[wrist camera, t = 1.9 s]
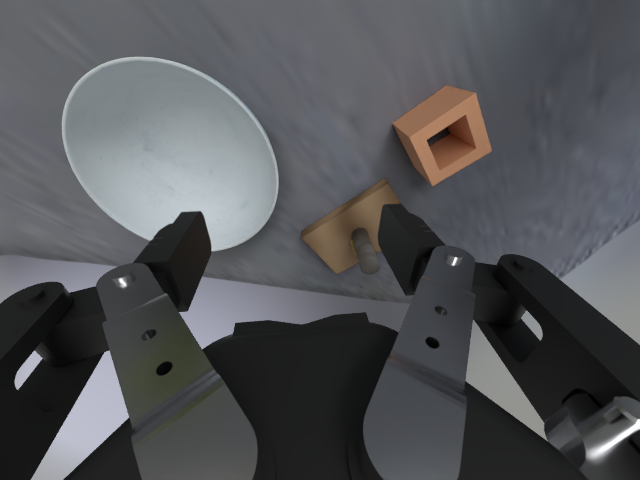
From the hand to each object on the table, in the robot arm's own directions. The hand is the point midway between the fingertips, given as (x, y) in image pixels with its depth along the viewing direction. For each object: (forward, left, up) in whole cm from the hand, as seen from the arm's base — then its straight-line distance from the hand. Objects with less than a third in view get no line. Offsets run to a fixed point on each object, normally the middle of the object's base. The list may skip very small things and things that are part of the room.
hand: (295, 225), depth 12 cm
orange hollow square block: (-11, +8, -17) cm, 22 cm away
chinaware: (+8, -4, -17) cm, 20 cm away
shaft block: (+1, +14, -17) cm, 22 cm away
